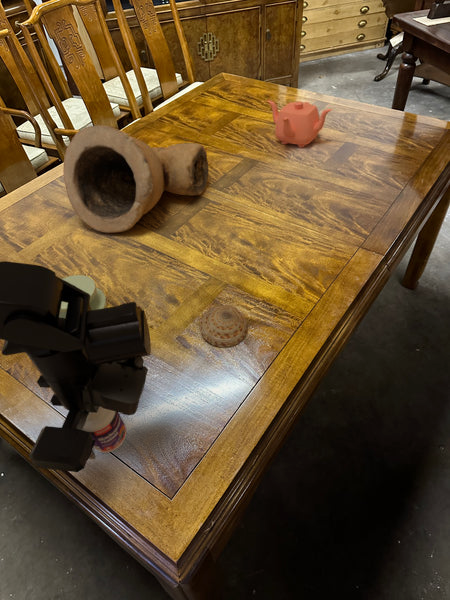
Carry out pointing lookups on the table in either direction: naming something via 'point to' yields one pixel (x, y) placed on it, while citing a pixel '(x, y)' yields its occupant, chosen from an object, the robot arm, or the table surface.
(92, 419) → the pill bottle
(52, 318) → the robot arm
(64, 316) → the stand
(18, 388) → the table surface
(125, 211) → the pipe
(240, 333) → the seashell
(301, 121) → the teapot
